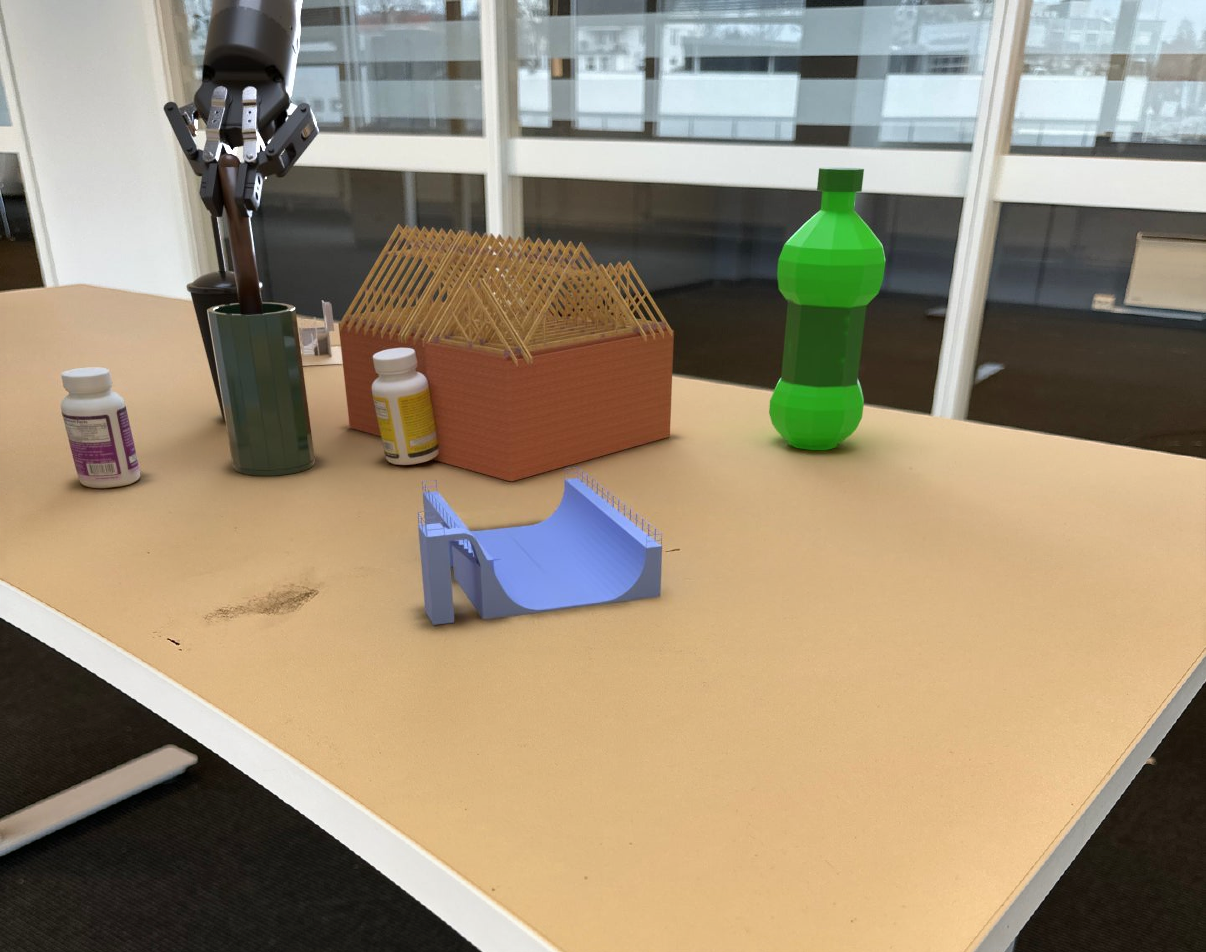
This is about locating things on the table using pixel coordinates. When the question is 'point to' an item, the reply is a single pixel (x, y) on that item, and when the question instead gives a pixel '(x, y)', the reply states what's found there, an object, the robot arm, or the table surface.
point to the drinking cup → (213, 301)
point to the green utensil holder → (262, 388)
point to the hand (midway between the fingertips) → (228, 209)
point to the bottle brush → (240, 239)
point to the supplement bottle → (403, 408)
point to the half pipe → (538, 558)
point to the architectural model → (319, 341)
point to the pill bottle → (98, 429)
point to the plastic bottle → (826, 316)
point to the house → (514, 353)
